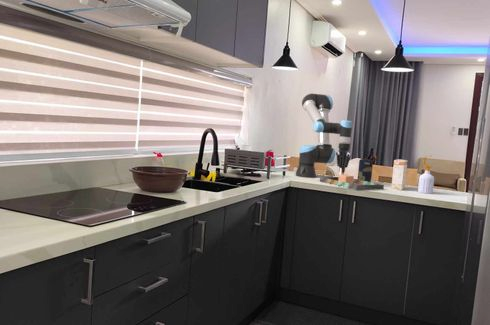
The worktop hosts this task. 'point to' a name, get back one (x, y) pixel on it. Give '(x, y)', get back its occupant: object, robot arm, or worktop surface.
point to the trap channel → (362, 184)
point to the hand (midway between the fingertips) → (341, 177)
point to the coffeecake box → (399, 174)
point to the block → (346, 178)
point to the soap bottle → (426, 181)
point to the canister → (365, 170)
